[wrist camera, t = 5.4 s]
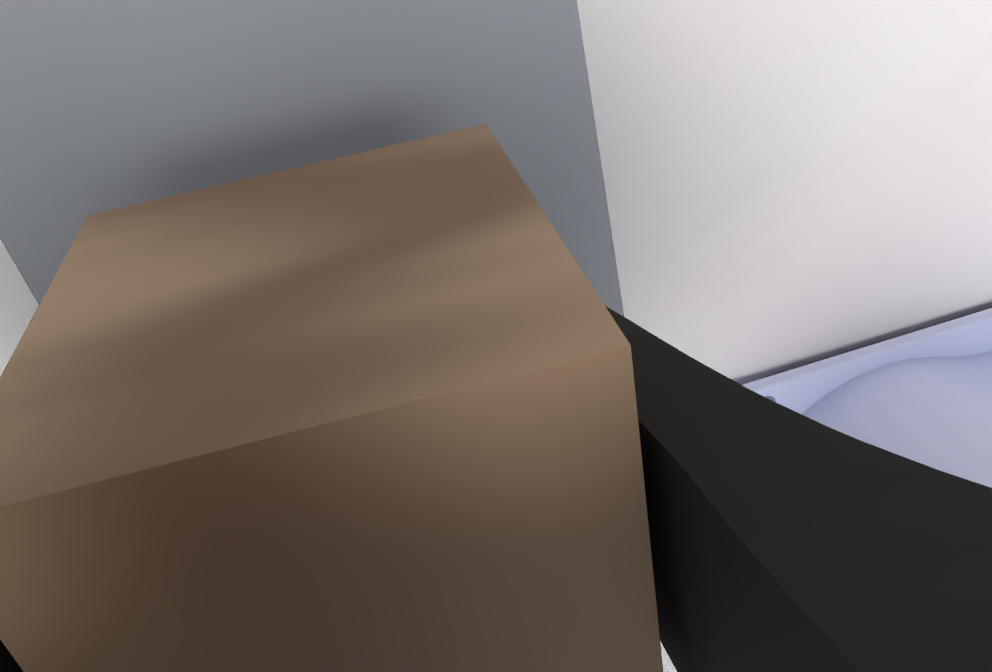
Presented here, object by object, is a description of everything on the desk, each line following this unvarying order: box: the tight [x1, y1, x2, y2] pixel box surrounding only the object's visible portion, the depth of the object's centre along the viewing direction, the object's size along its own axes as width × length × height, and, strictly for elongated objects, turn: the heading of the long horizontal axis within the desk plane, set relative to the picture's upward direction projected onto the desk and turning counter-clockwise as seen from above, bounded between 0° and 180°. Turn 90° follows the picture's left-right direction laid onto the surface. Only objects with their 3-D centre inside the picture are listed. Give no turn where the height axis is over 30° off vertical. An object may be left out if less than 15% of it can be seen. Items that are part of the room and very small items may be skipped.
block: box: [0, 124, 663, 672], centre depth 9 cm, size 4×4×5 cm
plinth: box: [0, 0, 624, 317], centre depth 15 cm, size 9×9×2 cm
